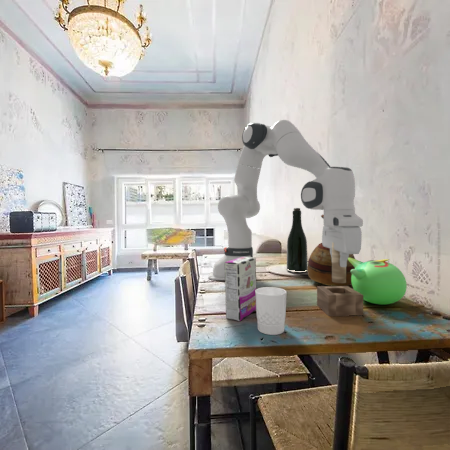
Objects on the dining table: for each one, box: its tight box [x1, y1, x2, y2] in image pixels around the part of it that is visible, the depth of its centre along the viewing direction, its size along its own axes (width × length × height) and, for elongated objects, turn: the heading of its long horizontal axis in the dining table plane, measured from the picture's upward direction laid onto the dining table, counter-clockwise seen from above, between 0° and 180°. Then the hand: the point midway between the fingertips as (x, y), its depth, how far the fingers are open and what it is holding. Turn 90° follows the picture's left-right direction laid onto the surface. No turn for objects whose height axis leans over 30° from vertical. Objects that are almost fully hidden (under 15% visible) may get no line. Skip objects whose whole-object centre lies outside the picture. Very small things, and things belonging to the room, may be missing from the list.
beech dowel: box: [332, 242, 346, 283], centre depth 83 cm, size 4×4×12 cm
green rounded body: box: [348, 258, 408, 306], centre depth 90 cm, size 18×17×15 cm
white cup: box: [255, 286, 288, 336], centre depth 69 cm, size 8×8×10 cm
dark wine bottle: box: [286, 207, 308, 271], centre depth 141 cm, size 10×10×33 cm
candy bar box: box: [224, 256, 257, 322], centre depth 80 cm, size 11×5×16 cm, turn 148°
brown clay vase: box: [307, 214, 356, 286], centre depth 115 cm, size 20×20×30 cm
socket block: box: [316, 285, 364, 317], centre depth 83 cm, size 10×10×6 cm
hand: (338, 265), depth 83 cm, fingers closed on beech dowel, 4 cm apart
